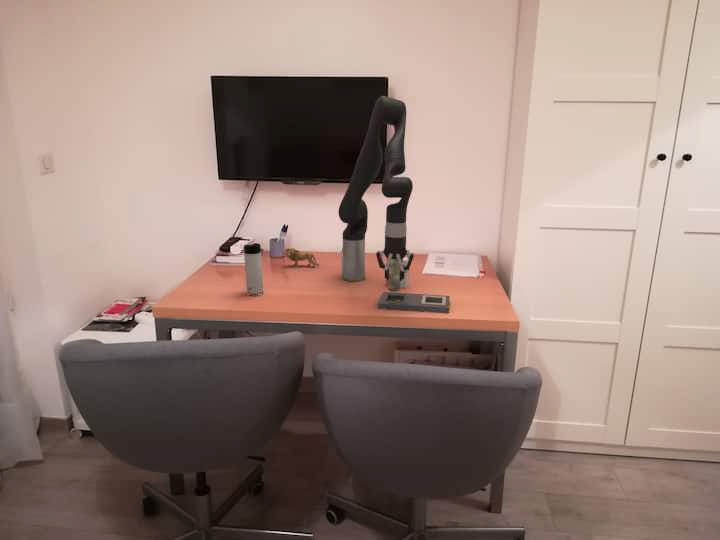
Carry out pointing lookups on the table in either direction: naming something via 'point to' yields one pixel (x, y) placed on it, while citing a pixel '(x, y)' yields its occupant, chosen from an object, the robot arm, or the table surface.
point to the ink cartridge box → (405, 281)
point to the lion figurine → (300, 257)
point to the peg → (394, 276)
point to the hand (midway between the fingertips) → (394, 279)
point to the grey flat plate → (415, 302)
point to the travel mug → (253, 269)
